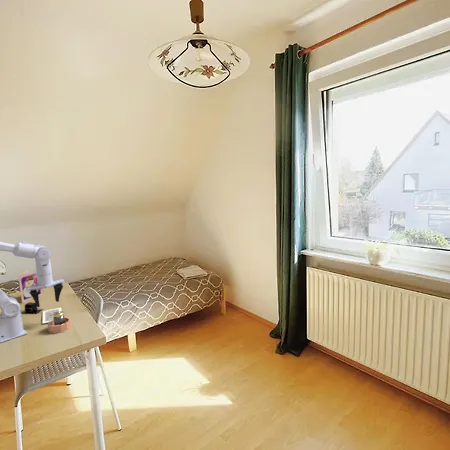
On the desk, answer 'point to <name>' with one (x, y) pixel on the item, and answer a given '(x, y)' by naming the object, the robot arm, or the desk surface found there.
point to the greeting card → (28, 284)
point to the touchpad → (49, 314)
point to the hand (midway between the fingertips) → (47, 303)
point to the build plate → (31, 309)
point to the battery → (58, 318)
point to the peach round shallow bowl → (59, 326)
